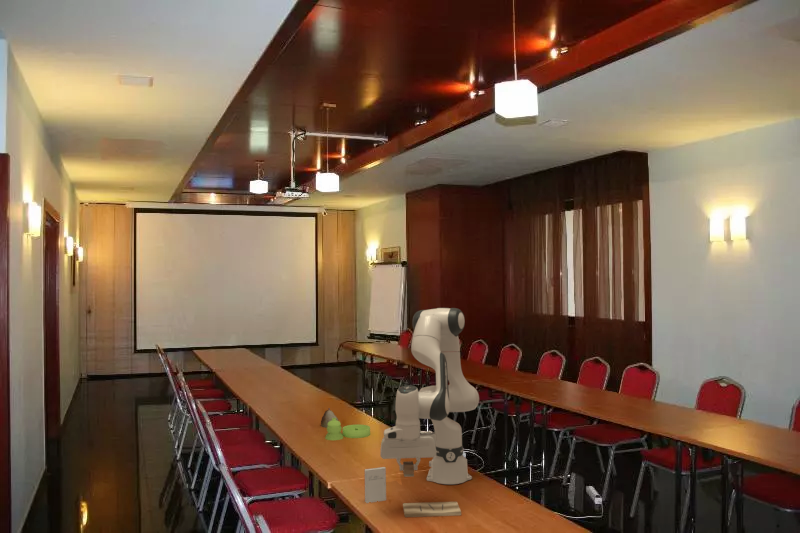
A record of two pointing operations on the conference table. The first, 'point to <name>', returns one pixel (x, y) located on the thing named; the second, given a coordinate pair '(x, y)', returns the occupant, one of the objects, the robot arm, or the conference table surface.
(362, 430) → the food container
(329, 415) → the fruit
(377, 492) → the hard drive
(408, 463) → the block
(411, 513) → the board
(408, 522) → the conference table surface
